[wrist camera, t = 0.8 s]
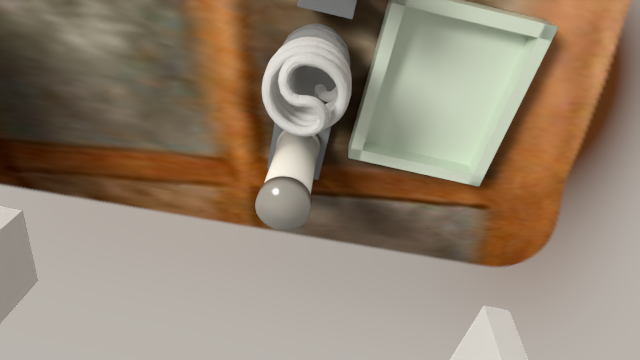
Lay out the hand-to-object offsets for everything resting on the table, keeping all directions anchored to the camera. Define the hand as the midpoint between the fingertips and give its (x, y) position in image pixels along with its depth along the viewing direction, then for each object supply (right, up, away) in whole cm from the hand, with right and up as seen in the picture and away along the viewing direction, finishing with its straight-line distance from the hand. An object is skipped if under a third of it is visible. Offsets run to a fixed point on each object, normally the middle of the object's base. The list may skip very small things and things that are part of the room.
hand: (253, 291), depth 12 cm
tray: (+12, +11, +23) cm, 28 cm away
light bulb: (+2, +14, +22) cm, 27 cm away
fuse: (0, +7, +27) cm, 28 cm away
